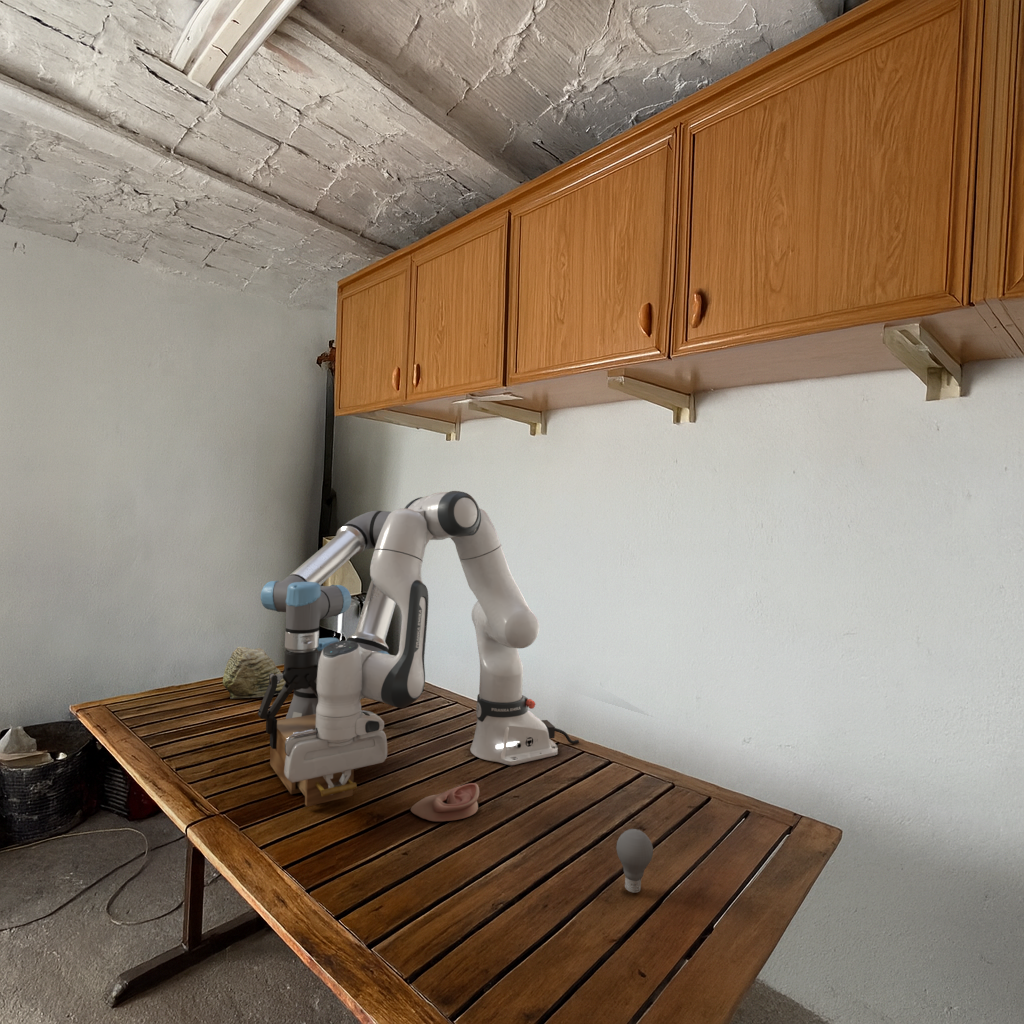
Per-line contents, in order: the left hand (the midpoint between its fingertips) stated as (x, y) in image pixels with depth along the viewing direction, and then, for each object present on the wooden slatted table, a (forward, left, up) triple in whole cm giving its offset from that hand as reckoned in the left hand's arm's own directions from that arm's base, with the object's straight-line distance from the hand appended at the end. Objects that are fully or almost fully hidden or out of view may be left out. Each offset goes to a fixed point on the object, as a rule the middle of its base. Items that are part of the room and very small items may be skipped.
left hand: (298, 742), depth 148 cm
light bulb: (-11, +82, -6) cm, 83 cm away
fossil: (-20, -55, -6) cm, 58 cm away
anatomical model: (-9, +40, -6) cm, 41 cm away
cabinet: (+1, +5, -5) cm, 7 cm away
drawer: (+5, +16, -4) cm, 18 cm away
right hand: (+7, +25, -1) cm, 26 cm away
